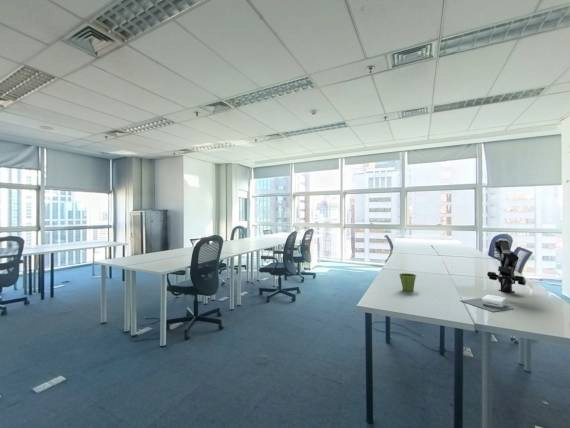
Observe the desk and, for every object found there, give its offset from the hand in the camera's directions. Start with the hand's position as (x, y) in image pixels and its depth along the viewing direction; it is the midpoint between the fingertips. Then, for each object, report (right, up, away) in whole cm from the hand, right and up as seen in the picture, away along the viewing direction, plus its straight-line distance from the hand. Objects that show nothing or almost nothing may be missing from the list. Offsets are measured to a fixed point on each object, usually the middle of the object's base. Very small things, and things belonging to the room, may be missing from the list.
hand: (502, 288), depth 165 cm
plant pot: (-48, -9, +26) cm, 55 cm away
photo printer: (-8, -5, -5) cm, 10 cm away
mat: (-17, -8, -8) cm, 20 cm away
